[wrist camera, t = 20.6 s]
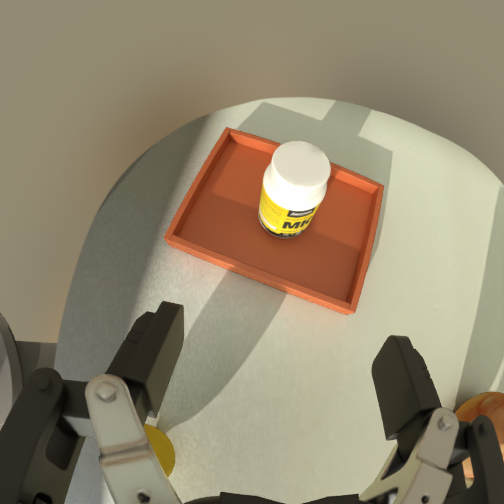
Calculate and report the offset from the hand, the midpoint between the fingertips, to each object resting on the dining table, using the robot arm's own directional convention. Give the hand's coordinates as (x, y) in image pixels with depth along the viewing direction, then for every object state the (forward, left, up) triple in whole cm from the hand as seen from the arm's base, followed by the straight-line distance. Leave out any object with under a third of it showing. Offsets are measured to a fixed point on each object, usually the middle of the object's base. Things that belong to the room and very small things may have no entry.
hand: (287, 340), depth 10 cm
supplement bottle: (-2, +11, -13) cm, 17 cm away
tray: (-2, +11, -13) cm, 17 cm away
